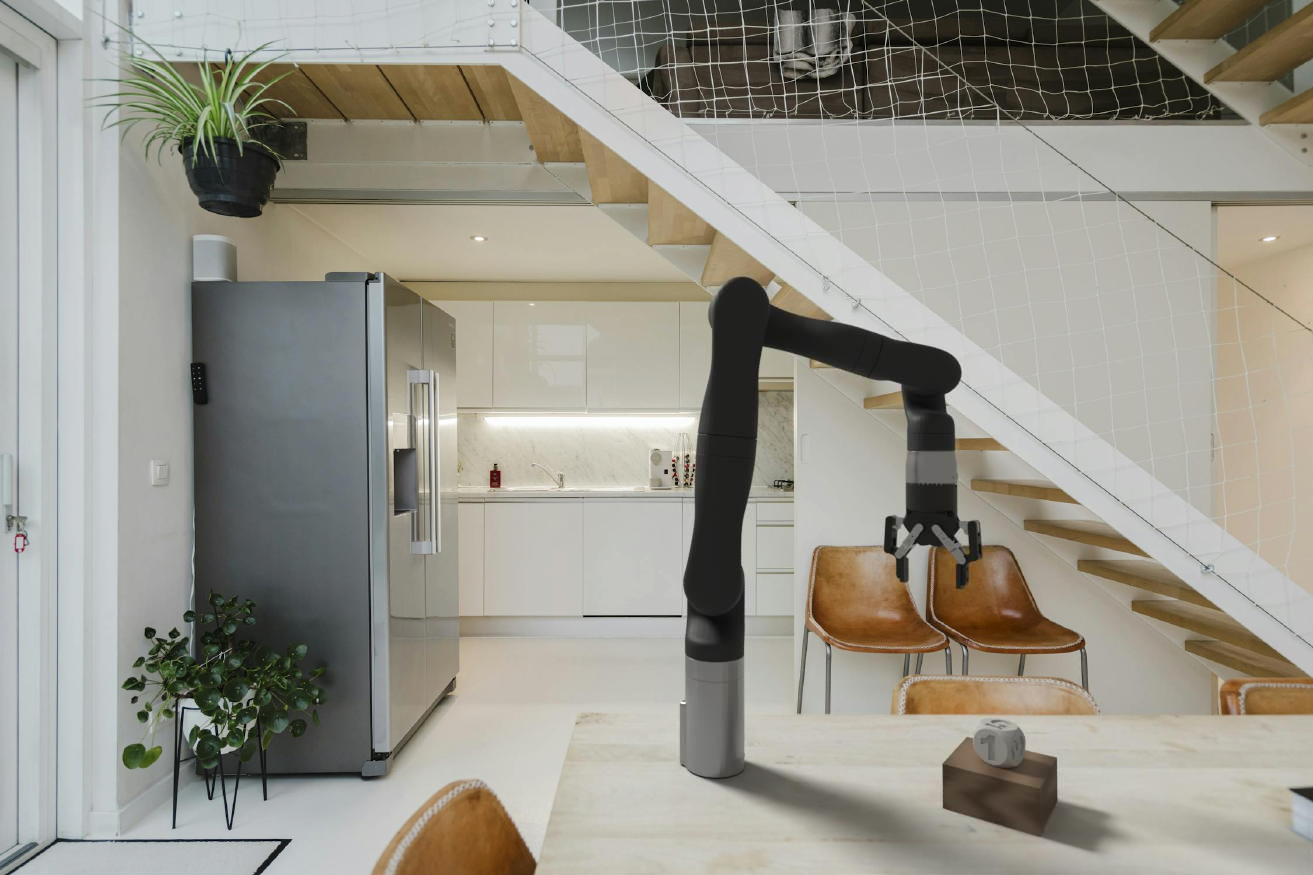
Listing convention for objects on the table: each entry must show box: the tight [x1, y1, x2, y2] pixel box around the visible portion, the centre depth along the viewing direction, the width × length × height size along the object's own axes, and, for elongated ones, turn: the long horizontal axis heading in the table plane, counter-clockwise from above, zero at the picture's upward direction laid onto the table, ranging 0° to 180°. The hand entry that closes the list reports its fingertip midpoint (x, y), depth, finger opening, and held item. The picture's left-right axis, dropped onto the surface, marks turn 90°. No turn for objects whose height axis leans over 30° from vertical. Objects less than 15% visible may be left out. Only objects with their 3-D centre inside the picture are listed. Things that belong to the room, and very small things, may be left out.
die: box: [972, 717, 1027, 768], centre depth 101 cm, size 5×5×5 cm
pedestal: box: [941, 736, 1059, 837], centre depth 101 cm, size 12×12×6 cm
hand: (931, 585), depth 113 cm, fingers open, 8 cm apart
